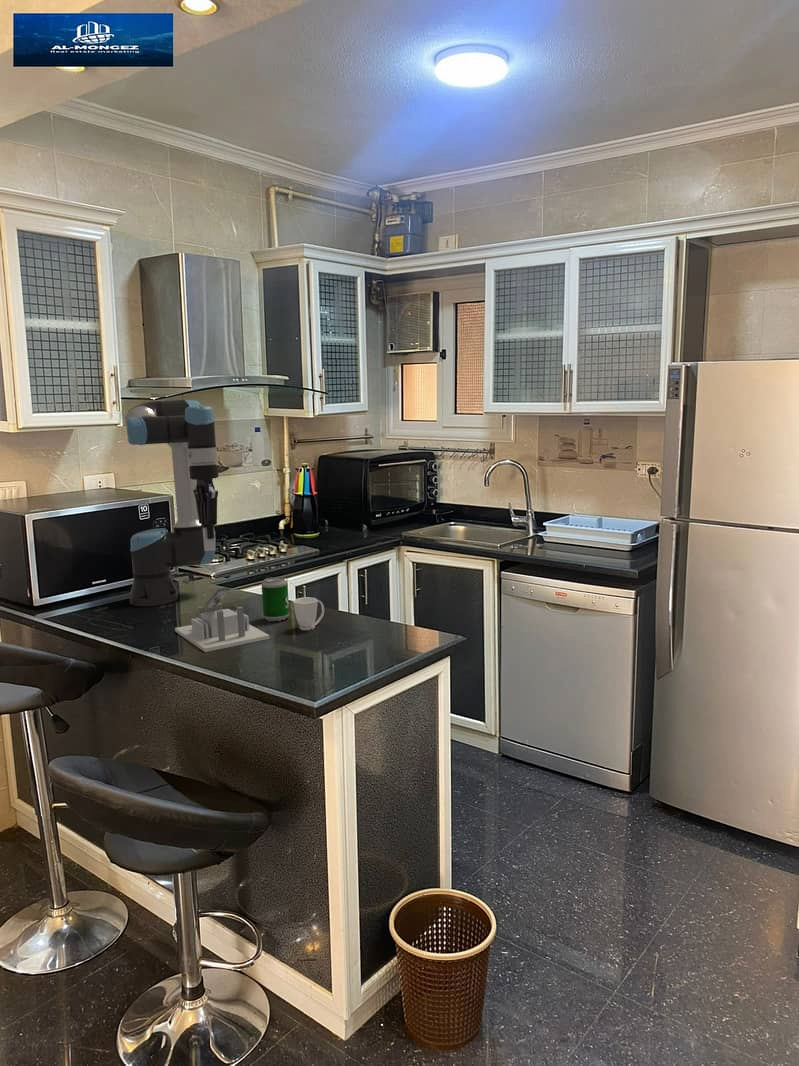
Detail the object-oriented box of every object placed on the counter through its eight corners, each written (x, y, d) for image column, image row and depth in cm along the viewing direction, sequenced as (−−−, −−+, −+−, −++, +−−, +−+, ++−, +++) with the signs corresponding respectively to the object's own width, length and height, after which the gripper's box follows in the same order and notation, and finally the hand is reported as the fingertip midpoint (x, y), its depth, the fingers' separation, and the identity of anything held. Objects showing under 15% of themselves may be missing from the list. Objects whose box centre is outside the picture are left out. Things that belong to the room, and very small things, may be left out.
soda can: (284, 622, 227) (282, 582, 225) (259, 622, 228) (257, 582, 226) (293, 615, 234) (290, 576, 232) (269, 615, 236) (266, 576, 234)
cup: (289, 628, 221) (287, 600, 219) (316, 620, 228) (314, 593, 227) (305, 633, 216) (303, 604, 215) (332, 625, 223) (331, 597, 222)
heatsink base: (175, 631, 222) (172, 600, 220) (235, 620, 232) (233, 590, 230) (205, 652, 202) (202, 618, 201) (269, 638, 212) (267, 606, 210)
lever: (205, 609, 221) (203, 603, 221) (215, 607, 223) (214, 601, 223) (219, 592, 210) (217, 586, 210) (229, 590, 211) (228, 585, 212)
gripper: (182, 464, 216) (188, 549, 219) (197, 465, 205) (204, 554, 208) (208, 462, 220) (214, 546, 223) (225, 463, 209) (231, 551, 212)
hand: (210, 550), depth 215 cm, fingers closed
